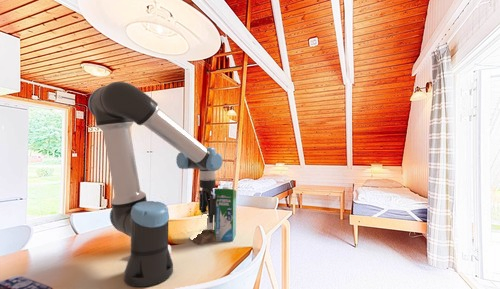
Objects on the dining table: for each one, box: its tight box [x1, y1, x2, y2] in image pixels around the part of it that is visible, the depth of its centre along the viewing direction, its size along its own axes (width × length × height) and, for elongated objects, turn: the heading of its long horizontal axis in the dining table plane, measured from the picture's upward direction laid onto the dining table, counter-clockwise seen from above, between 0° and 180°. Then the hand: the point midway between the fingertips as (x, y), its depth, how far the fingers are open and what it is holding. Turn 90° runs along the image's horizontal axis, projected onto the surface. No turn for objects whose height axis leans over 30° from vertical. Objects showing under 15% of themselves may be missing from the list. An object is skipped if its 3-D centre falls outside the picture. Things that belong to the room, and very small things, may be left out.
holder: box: [191, 228, 216, 246], centre depth 117 cm, size 14×10×3 cm
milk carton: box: [213, 186, 237, 242], centre depth 119 cm, size 9×9×25 cm
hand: (207, 227), depth 117 cm, fingers open, 5 cm apart
